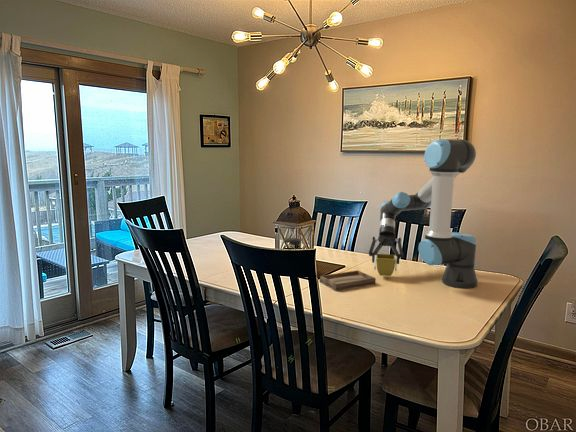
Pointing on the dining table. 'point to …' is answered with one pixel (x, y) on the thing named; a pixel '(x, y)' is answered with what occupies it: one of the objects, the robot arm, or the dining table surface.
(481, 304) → the dining table surface
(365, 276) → the walnut tray
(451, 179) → the robot arm
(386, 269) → the flower pot
